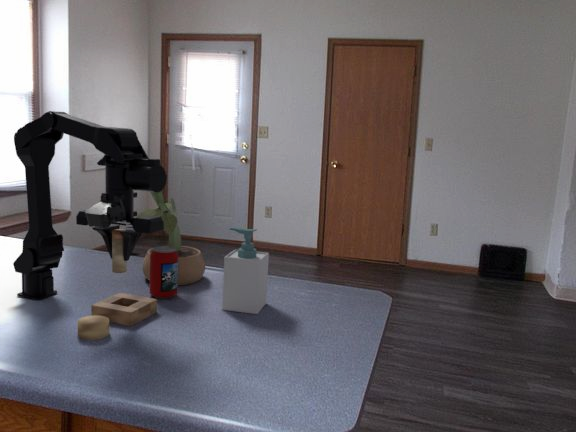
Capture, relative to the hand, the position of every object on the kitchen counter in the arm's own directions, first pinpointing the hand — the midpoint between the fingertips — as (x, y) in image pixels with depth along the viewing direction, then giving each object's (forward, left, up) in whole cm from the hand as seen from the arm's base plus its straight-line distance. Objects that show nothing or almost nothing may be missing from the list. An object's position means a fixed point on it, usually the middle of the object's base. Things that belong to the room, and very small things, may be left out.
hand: (119, 259), depth 121 cm
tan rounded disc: (+2, -11, -13) cm, 17 cm away
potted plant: (-6, +29, -13) cm, 33 cm away
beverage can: (+1, +17, -13) cm, 22 cm away
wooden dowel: (0, 0, -3) cm, 3 cm away
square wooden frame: (+1, +1, -13) cm, 13 cm away
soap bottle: (+22, +19, -13) cm, 32 cm away
